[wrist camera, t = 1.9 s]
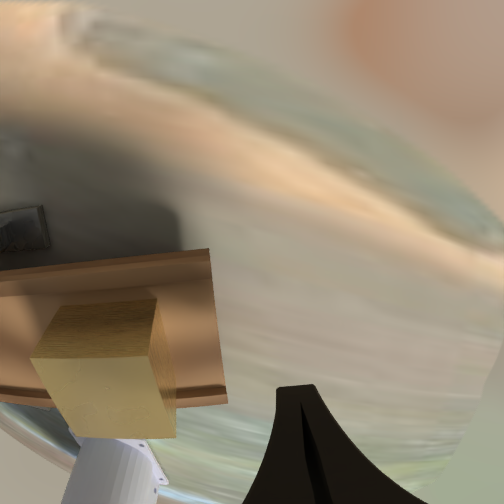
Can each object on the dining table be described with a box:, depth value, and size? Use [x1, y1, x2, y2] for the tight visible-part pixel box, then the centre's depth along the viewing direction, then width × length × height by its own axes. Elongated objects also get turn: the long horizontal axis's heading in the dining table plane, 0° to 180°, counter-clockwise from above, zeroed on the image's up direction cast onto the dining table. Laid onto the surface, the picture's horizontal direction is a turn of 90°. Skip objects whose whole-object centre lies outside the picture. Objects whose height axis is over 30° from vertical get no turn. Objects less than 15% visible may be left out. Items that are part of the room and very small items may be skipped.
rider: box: [30, 298, 176, 439], centre depth 12 cm, size 5×5×4 cm
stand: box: [0, 205, 51, 411], centre depth 16 cm, size 13×8×4 cm, turn 2°
